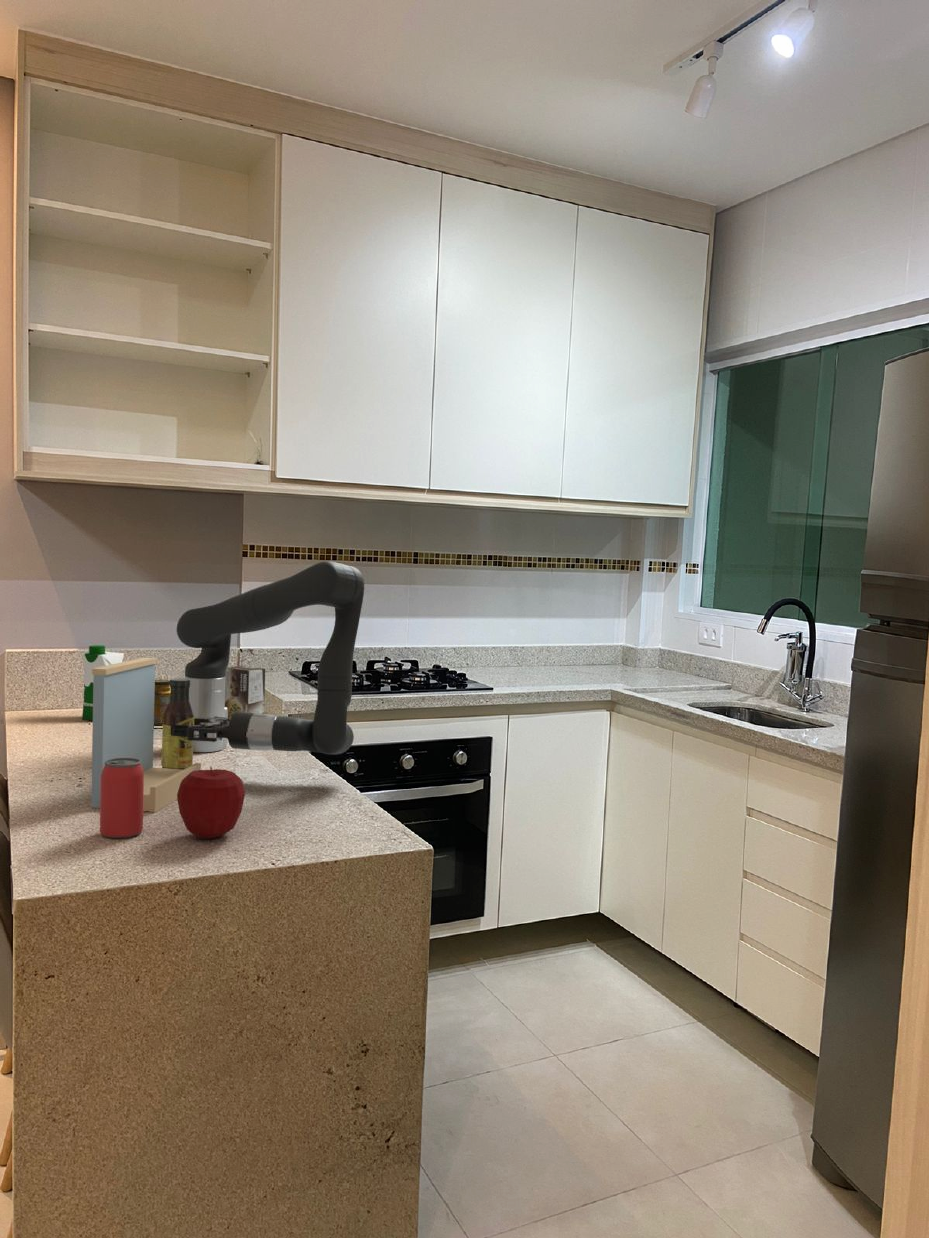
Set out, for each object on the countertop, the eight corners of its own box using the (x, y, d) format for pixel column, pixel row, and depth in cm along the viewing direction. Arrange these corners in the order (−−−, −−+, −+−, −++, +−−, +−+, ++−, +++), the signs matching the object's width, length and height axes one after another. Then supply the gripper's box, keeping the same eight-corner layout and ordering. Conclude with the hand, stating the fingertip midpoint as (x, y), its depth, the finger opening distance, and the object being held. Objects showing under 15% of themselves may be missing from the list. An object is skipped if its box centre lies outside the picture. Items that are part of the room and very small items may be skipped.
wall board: (141, 781, 185) (144, 657, 183) (200, 785, 183) (203, 660, 182) (89, 807, 165) (92, 668, 163) (155, 812, 164) (158, 672, 162)
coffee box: (265, 728, 247) (266, 668, 246) (247, 731, 241) (249, 670, 240) (240, 723, 251) (242, 665, 250) (222, 726, 246) (224, 666, 245)
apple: (207, 851, 144) (209, 777, 143) (161, 837, 149) (162, 766, 149) (258, 835, 153) (260, 765, 152) (212, 823, 159) (214, 756, 158)
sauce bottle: (182, 778, 188) (185, 682, 187) (155, 775, 190) (157, 680, 188) (198, 771, 195) (200, 678, 194) (171, 769, 196) (173, 676, 195)
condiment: (170, 722, 249) (171, 678, 248) (175, 728, 241) (176, 682, 240) (142, 723, 246) (143, 679, 245) (146, 729, 238) (147, 683, 237)
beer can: (106, 827, 154) (108, 756, 153) (147, 828, 154) (148, 757, 153) (94, 839, 147) (95, 765, 146) (136, 840, 148) (138, 766, 147)
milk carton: (76, 719, 247) (78, 645, 246) (102, 715, 255) (104, 643, 254) (101, 723, 243) (102, 648, 242) (126, 718, 252) (128, 645, 250)
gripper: (267, 708, 197) (194, 703, 198) (243, 719, 182) (165, 714, 184) (266, 742, 197) (193, 737, 199) (242, 756, 183) (164, 751, 185)
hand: (180, 726), depth 192 cm, fingers open, 8 cm apart
